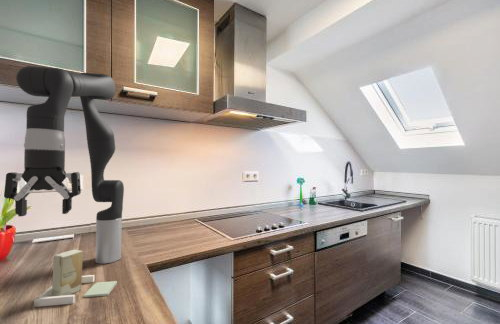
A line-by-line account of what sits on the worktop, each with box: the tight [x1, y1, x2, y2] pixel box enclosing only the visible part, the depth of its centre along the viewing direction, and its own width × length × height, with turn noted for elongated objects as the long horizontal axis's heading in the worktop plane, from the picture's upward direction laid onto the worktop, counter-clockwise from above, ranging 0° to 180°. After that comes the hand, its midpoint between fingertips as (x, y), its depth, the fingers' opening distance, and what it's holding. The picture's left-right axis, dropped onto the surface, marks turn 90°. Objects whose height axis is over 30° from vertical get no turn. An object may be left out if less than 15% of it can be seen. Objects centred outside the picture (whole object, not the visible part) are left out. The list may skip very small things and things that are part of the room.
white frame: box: [33, 274, 95, 308], centre depth 73 cm, size 14×10×2 cm
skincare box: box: [51, 249, 84, 297], centre depth 73 cm, size 6×4×12 cm
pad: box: [83, 280, 118, 298], centre depth 75 cm, size 8×7×1 cm
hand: (44, 214), depth 58 cm, fingers open, 8 cm apart
